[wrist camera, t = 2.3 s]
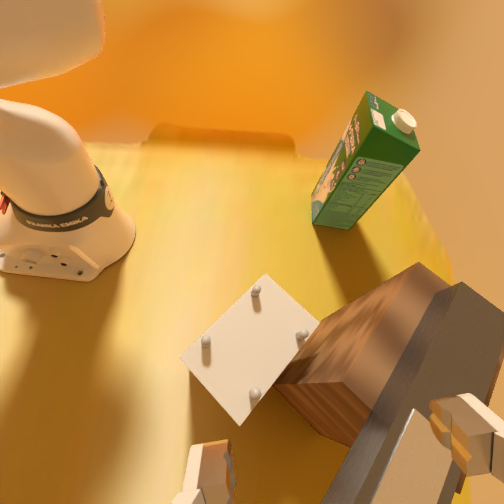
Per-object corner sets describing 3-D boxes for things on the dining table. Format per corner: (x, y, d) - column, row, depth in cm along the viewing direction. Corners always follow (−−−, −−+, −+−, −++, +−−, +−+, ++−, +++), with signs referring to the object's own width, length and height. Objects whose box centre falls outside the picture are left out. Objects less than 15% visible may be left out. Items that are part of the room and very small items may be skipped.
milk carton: (349, 230, 59) (432, 137, 37) (311, 224, 58) (373, 125, 36) (346, 200, 63) (419, 101, 41) (311, 193, 62) (366, 89, 41)
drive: (362, 614, 14) (398, 667, 11) (300, 540, 15) (320, 573, 12) (478, 326, 24) (513, 318, 21) (435, 292, 25) (463, 281, 22)
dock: (228, 412, 39) (241, 429, 23) (189, 367, 41) (176, 355, 25) (285, 343, 45) (325, 319, 29) (248, 307, 47) (268, 267, 31)
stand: (320, 434, 39) (460, 494, 17) (272, 384, 42) (342, 381, 20) (367, 358, 46) (511, 332, 24) (323, 319, 48) (418, 261, 26)
